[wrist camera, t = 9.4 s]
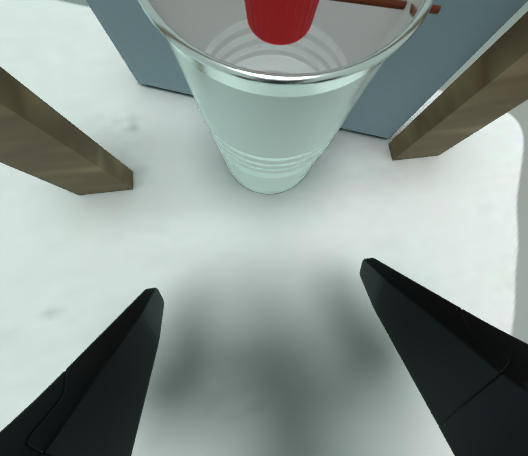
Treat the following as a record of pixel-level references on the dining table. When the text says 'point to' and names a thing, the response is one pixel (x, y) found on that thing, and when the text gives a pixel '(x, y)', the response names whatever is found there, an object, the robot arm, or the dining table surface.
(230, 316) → the dining table surface
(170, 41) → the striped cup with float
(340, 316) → the dining table surface
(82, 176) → the door frame
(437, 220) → the dining table surface
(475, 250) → the dining table surface
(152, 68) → the door
